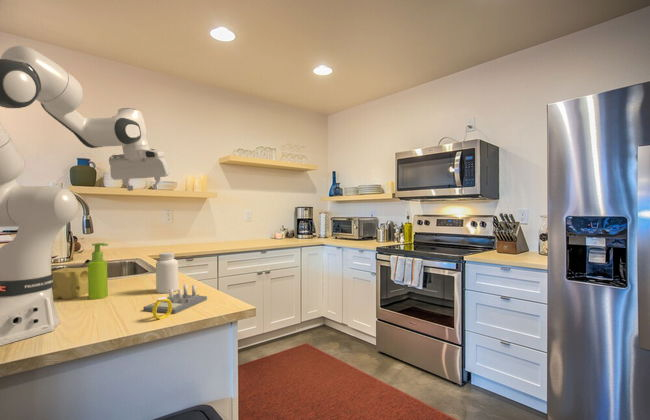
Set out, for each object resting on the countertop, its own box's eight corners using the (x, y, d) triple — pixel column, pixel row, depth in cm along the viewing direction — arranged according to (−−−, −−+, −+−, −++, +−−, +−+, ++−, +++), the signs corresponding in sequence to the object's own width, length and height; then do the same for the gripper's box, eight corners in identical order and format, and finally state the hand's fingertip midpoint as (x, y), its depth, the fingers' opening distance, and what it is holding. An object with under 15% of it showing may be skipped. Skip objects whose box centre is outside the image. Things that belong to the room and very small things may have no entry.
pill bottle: (151, 292, 130) (151, 253, 130) (169, 287, 137) (169, 251, 137) (165, 294, 127) (164, 254, 126) (183, 289, 134) (182, 252, 133)
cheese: (71, 299, 121) (71, 272, 121) (42, 299, 121) (41, 272, 121) (92, 292, 132) (91, 266, 131) (65, 292, 132) (64, 267, 132)
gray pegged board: (175, 313, 103) (174, 296, 103) (143, 310, 107) (143, 294, 107) (206, 299, 119) (206, 285, 119) (178, 297, 122) (178, 283, 122)
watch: (158, 322, 97) (156, 302, 96) (151, 321, 98) (149, 301, 97) (174, 314, 102) (173, 295, 102) (168, 313, 103) (166, 294, 103)
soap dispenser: (100, 299, 120) (99, 244, 120) (84, 299, 121) (83, 244, 121) (113, 295, 126) (112, 242, 125) (98, 294, 127) (97, 242, 127)
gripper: (103, 155, 122) (110, 192, 125) (161, 152, 124) (167, 189, 127) (112, 154, 128) (118, 190, 131) (167, 151, 130) (173, 186, 133)
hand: (143, 189), depth 129 cm, fingers open, 8 cm apart
